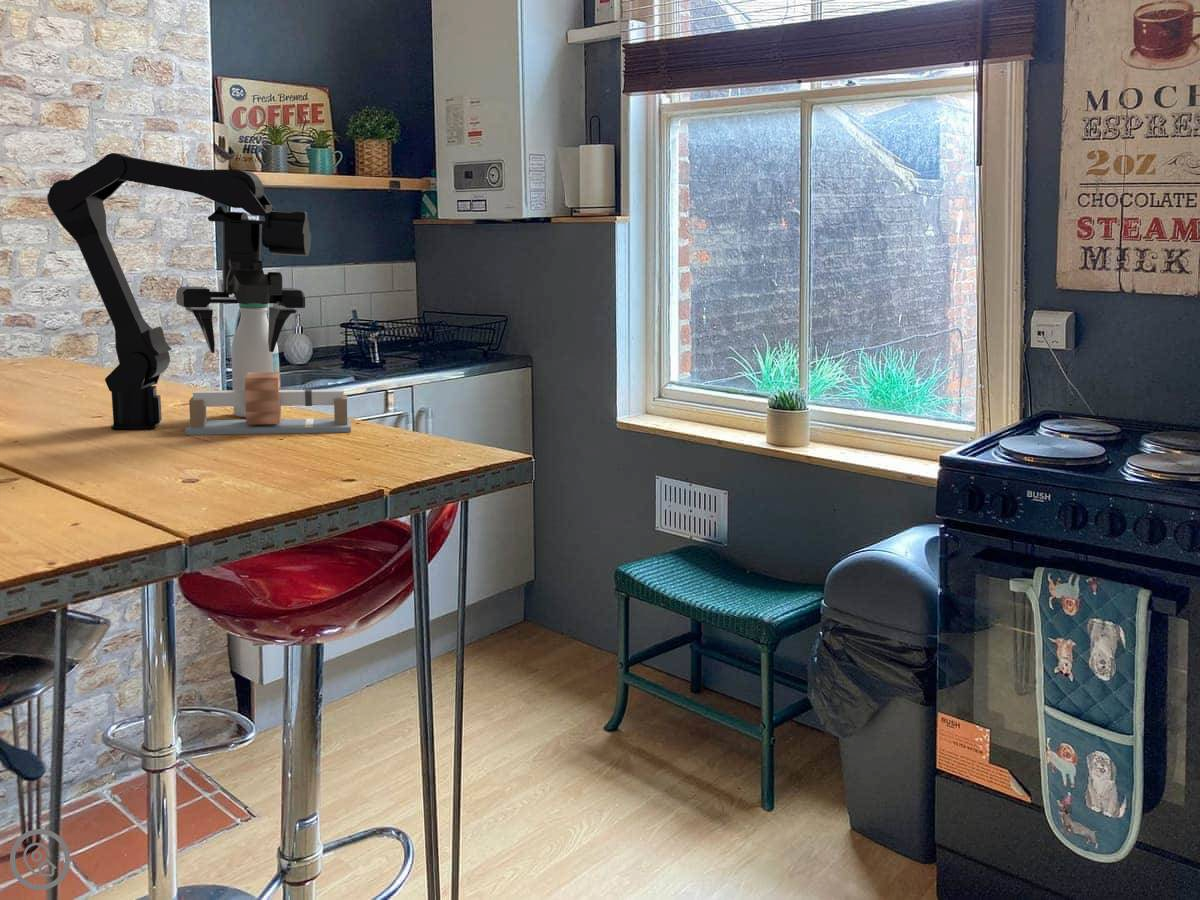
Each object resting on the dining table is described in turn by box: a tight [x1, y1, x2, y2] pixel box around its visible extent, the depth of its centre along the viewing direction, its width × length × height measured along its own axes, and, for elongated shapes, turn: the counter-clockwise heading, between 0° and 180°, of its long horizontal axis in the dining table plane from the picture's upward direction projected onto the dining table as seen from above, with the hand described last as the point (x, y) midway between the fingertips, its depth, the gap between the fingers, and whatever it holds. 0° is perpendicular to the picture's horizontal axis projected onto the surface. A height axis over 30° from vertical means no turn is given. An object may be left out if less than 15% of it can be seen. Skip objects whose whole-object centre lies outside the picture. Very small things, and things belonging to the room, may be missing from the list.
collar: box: [245, 371, 282, 425], centre depth 182 cm, size 5×6×7 cm
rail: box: [184, 388, 352, 436], centre depth 182 cm, size 25×8×6 cm, turn 102°
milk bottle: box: [231, 303, 280, 418], centre depth 193 cm, size 8×8×20 cm
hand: (242, 352), depth 181 cm, fingers open, 9 cm apart
